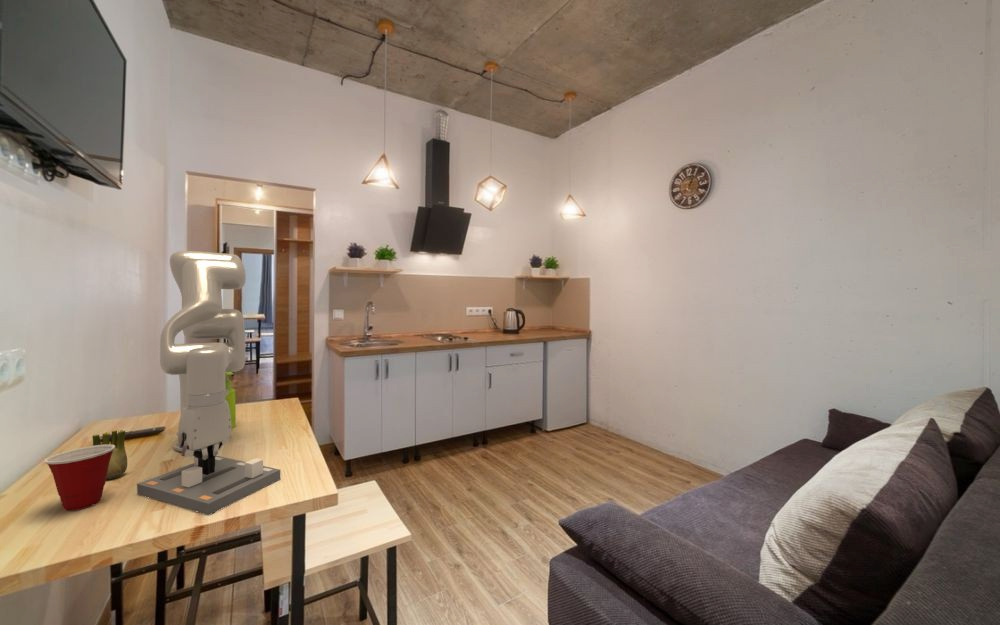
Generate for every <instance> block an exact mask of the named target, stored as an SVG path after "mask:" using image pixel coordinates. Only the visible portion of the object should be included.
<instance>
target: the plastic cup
mask: <svg viewBox="0 0 1000 625" xmlns="http://www.w3.org/2000/svg"><path fill="white" fill-rule="evenodd" d="M114 449H115V446H114V445H111V444H109V445H102V444H101V445H96V446H93V445H92V446H85V447H79V448H75V449H70V450H66V451H62V452H60V453H57V454H54V455H51V456H48V457H47V458H45V459H44V460H43V461H44V463H45V464H46V465H47V466H48V467H49V469H50V472H51V474H52V476H53V480H54V483H55V487H56V491H57V494H58V496H59V499H60V502H61V506H62V508H63V510H64V511H68V512H71V511H80V510H84V509H86V508H90V507H93V506H95V505H96V504H98V503H100V501H101V500H102V498H103V493H104V489H105V485H106V481H107V480H106V477H107V472H108V467H109V462H110V459H111V455H112V452H113V450H114Z"/></svg>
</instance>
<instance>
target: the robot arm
mask: <svg viewBox="0 0 1000 625" xmlns="http://www.w3.org/2000/svg"><path fill="white" fill-rule="evenodd" d="M169 266H170V271H171V274H172V277H173V279H174V281H175V282H176V283H175V284H177V287H178V289H179V291H180V296H181V309H180V310H179V311H177V313H175V314H174V315H173V316H172V317H171V318H170V319H169V320H168V321H167V322H166V324H165V325H164V327H163V328H162V331H161V334H160V339H159V340H160V341H159V342H160V343H159V364H160V367H161V370H162V371H163V372H164V373H165V374H167V375H171V376H174V375H175V376H178V378H179V395H180V396H179V398H180V399H179V401H180V416H179V417H180V418H179V422H178V428H177V429H178V431H176V433H175V435H176V436H177V442H176V443H174V444H173V450H174V451H175V452H180V453H181V454H180V455H181V457H185V458H189V457H196V458H198V467H202V474H205V475H209V474H210V473H214V472H215V456H218V454H219V450H220V449H221V448H222V446H224V445H225V444H227V443H228V442H230V437H231V435H232V429H231V415H230V409H229V405H228V402H227V401H226V400H225V395H227V394H229V390H228V389H226V390H225V372H232V373H234V372H239V371H241V370H243V368H245V364H246V330H245V329H246V328H245V327H246V326H245V317H244V314H243V313H242V312H241V311H240V310H238V309H234V308H223V303H222V302H223V300H222V299H223V298H222V290H241V289H243V287H245V284H246V270H245V266H244V263H243V262H242V260H241V258H240V256H239V255H236V254H235V253H223V252H222V253H221V252H211V251H200V250H198V251H197V250H180V251H176V252H173V253H172V254H171V255H170V258H169ZM181 331H182V333H183V335H184V337H185V338H187V339H190V340H216V339H218V340H219V339H220V340H221V339H225V340H227V341H228V342H193V343H192V342H191V343H175V339H176V336H177V335H178V334H179V333H180V332H181Z"/></svg>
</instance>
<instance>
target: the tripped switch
mask: <svg viewBox="0 0 1000 625" xmlns="http://www.w3.org/2000/svg"><path fill="white" fill-rule="evenodd" d="M201 482H202V467H198V466H194V467H191V468H188V469H186V470H183V471H182V486H184V487H188V488H189V487H191V486H194V485H196V484H199V483H201Z"/></svg>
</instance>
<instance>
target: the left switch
mask: <svg viewBox="0 0 1000 625" xmlns="http://www.w3.org/2000/svg"><path fill="white" fill-rule="evenodd" d="M193 457H194V456H193ZM193 460H194V461H193V463H194V465H197V466H198V458H196V457H194V459H193Z"/></svg>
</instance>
